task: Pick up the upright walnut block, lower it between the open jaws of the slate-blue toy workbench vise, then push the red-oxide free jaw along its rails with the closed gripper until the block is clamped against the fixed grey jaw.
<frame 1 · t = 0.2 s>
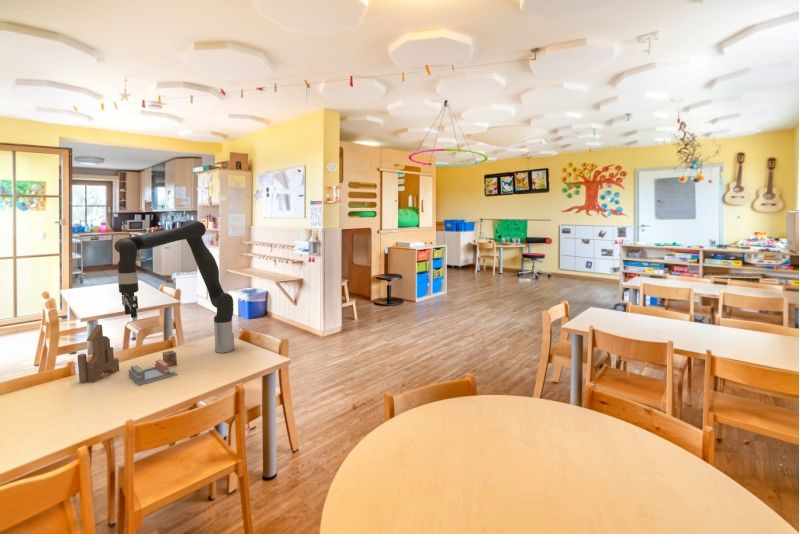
hand: (130, 315, 185), 28 cm above the table, fingers open, 8 cm apart
free jaw: (162, 366, 189), point 3 cm above the table, slide at 0.0 cm
wooden toy: (99, 376, 185), on the table
walnut block: (170, 364, 200), on the table
vise base: (153, 375, 187), on the table
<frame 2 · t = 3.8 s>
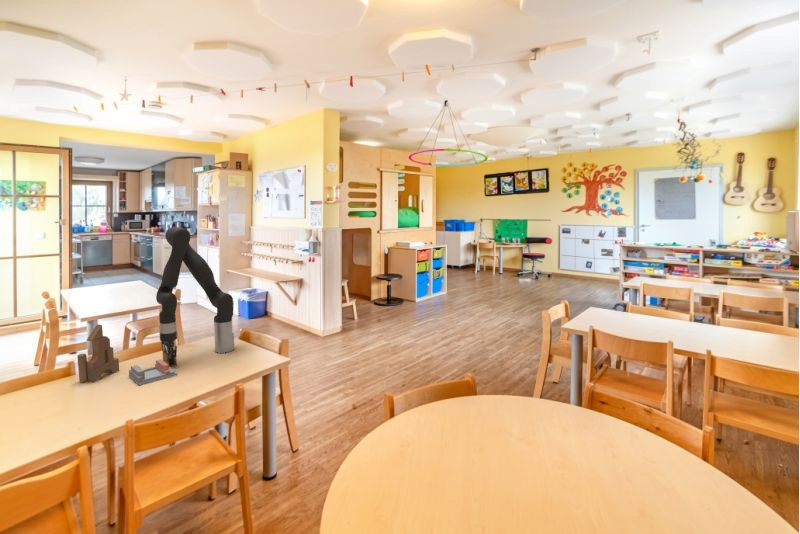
hand: (169, 363, 200), 1 cm above the table, fingers closed on walnut block, 5 cm apart
walnut block: (169, 364, 200), on the table, touching gripper
everything else where it was.
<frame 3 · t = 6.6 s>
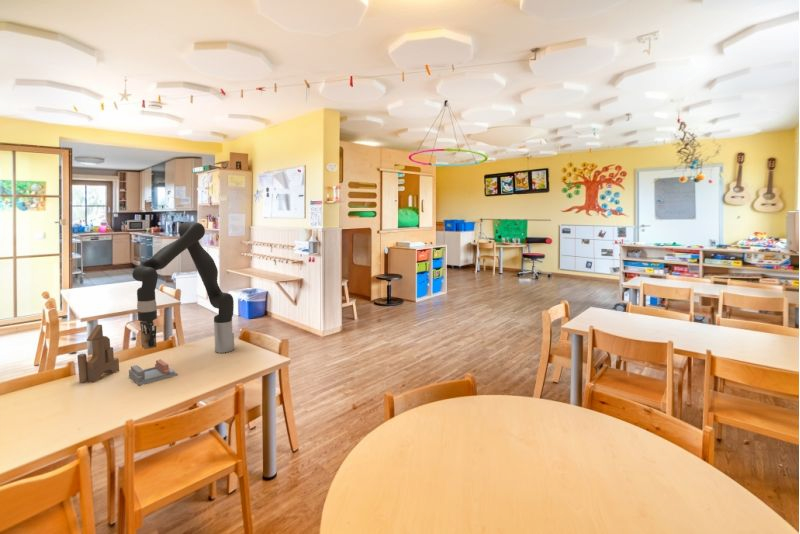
hand: (149, 344, 184), 15 cm above the table, fingers closed on walnut block, 5 cm apart
walnut block: (149, 346, 184), point 15 cm above the table, touching gripper
everything else where it was.
when the fingers open (3 cm above the table, at t = 9.5 s): walnut block drops 1 cm, resting on vise base.
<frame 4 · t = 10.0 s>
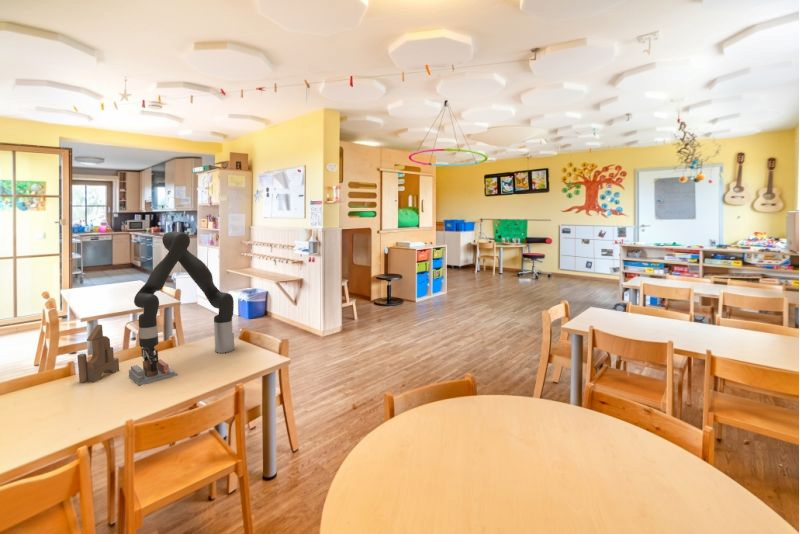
hand: (150, 368, 185), 4 cm above the table, fingers open, 8 cm apart
walnut block: (150, 374, 186), point 1 cm above the table, touching vise base
everything else where it was.
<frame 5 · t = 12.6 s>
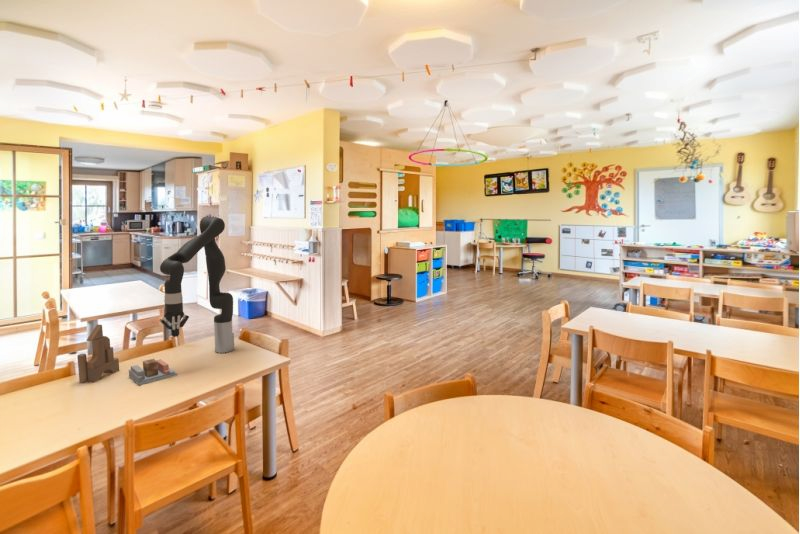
hand: (175, 336, 192), 17 cm above the table, fingers closed
nothing on the table moved.
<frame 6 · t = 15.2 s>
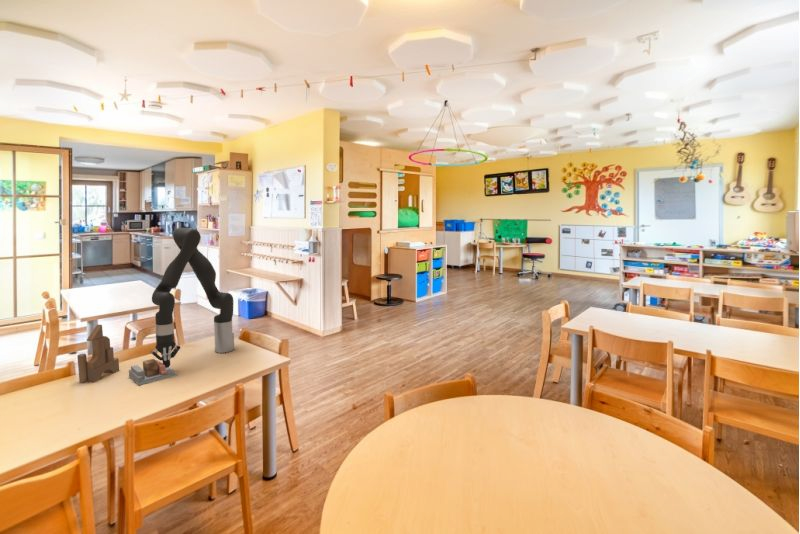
hand: (166, 367, 191), 3 cm above the table, fingers closed
free jaw: (159, 367, 188), point 3 cm above the table, slide at 1.4 cm, touching gripper
everything else where it was.
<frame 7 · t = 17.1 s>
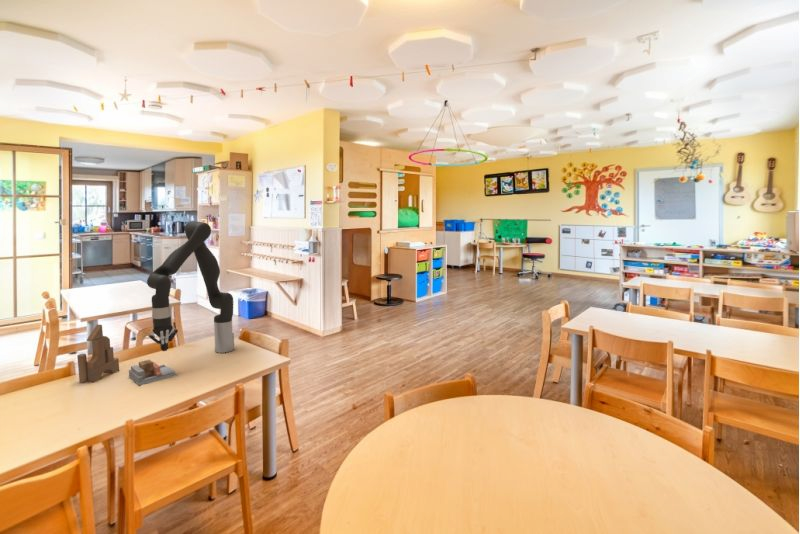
hand: (164, 350, 190), 11 cm above the table, fingers closed
free jaw: (154, 368, 187), point 3 cm above the table, slide at 3.5 cm, touching walnut block
walnut block: (146, 375, 184), point 1 cm above the table, touching free jaw, vise base
everything else where it was.
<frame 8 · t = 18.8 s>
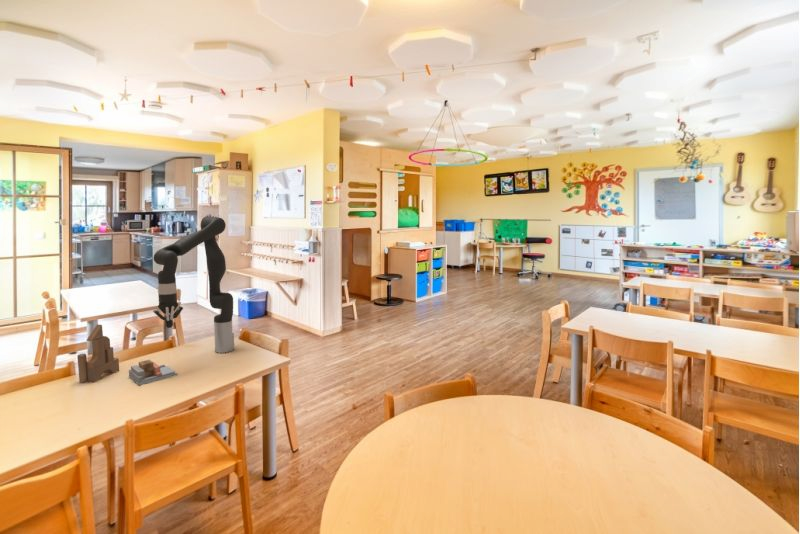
hand: (169, 327, 190), 22 cm above the table, fingers closed
nothing on the table moved.
at the end: free jaw slide at 3.5 cm; walnut block 0.2 cm from the target spot, point 1.0 cm above the table; walnut block tilted 0° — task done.
